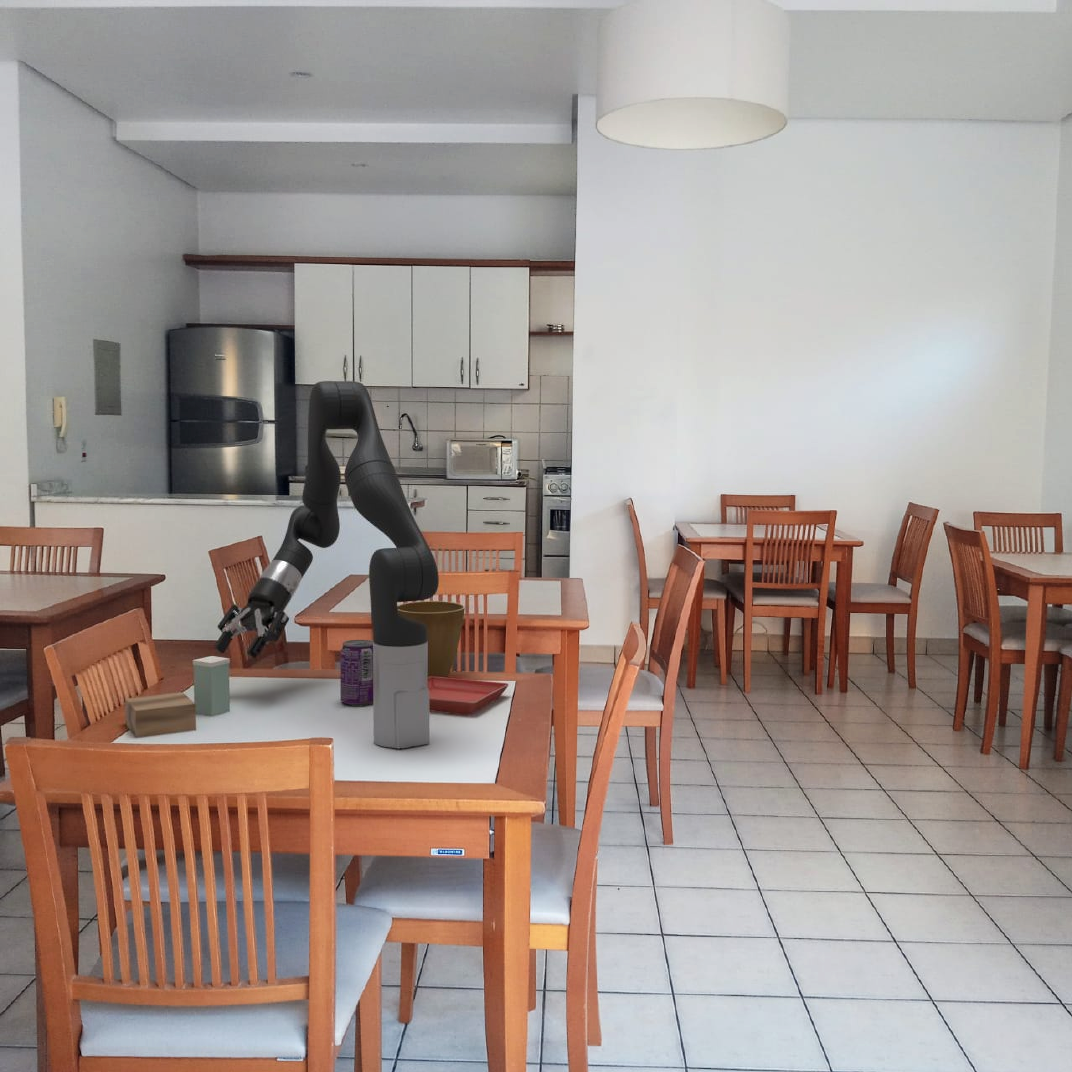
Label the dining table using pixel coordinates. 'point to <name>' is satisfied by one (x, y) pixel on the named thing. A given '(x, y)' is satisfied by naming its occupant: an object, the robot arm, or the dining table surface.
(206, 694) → the tea tin
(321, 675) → the dining table surface
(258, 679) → the dining table surface
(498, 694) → the plant saucer
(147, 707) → the walnut box
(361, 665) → the beverage can
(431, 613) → the plant pot
